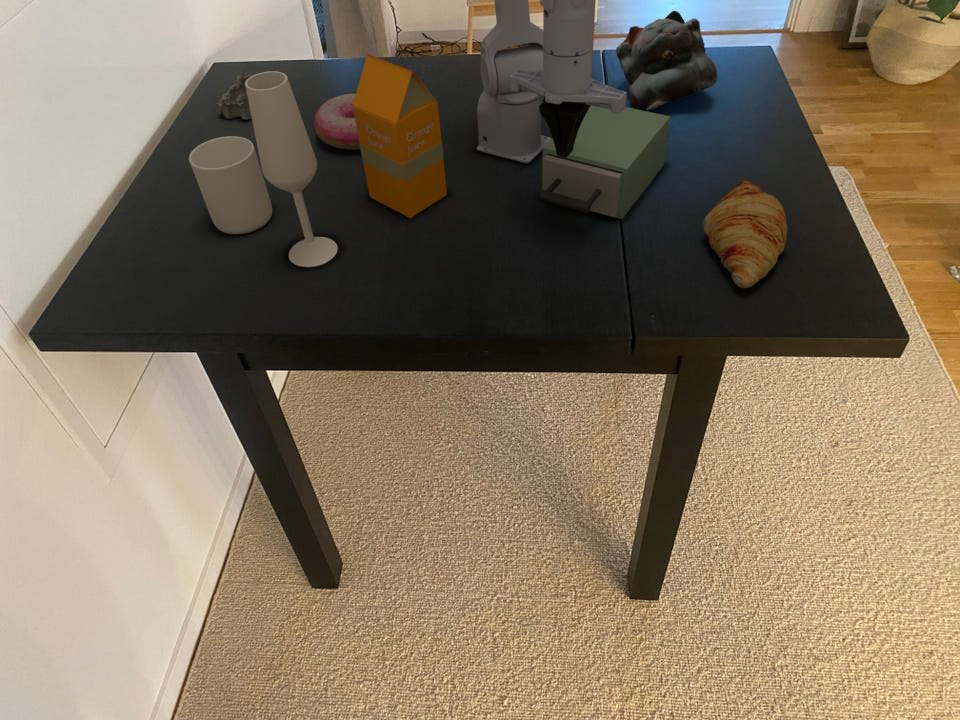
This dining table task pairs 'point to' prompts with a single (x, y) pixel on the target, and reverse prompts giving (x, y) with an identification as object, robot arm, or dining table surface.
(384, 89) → the orange juice
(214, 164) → the mug
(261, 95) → the champagne flute
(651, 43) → the lucky cat figurine
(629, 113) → the green drawer box
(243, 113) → the grey rough lump
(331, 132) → the donut
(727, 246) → the croissant
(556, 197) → the cream drawer
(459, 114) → the dining table surface
